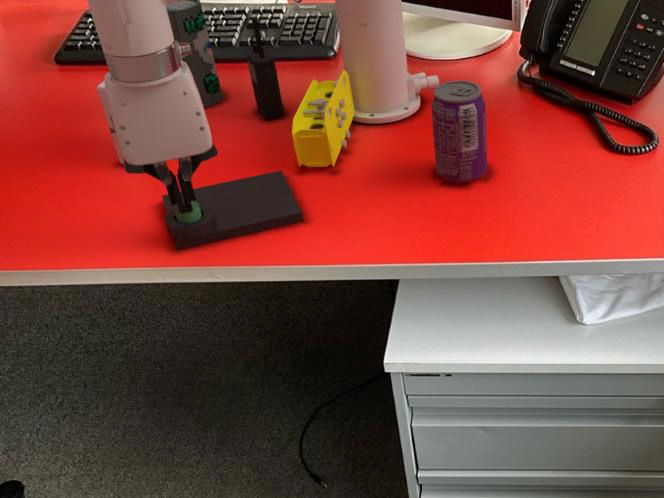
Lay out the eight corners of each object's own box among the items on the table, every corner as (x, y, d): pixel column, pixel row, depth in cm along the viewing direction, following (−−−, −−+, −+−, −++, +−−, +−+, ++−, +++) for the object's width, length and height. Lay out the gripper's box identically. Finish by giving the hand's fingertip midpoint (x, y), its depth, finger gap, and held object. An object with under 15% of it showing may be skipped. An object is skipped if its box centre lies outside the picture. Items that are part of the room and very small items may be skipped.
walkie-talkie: (256, 110, 140) (236, 12, 130) (277, 105, 141) (258, 8, 131) (267, 122, 136) (246, 23, 126) (288, 116, 138) (269, 18, 128)
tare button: (199, 209, 113) (196, 198, 112) (203, 220, 111) (200, 210, 110) (175, 214, 112) (172, 203, 111) (179, 226, 110) (175, 215, 109)
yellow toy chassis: (337, 171, 124) (327, 116, 119) (298, 172, 125) (285, 116, 119) (358, 117, 136) (350, 64, 130) (322, 118, 137) (312, 65, 131)
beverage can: (494, 164, 125) (492, 82, 117) (477, 189, 120) (473, 105, 112) (447, 157, 127) (442, 76, 119) (428, 181, 122) (421, 98, 114)
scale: (283, 179, 123) (279, 159, 121) (305, 223, 115) (301, 202, 113) (161, 205, 119) (155, 185, 117) (174, 253, 110) (167, 232, 108)
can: (225, 103, 142) (202, 7, 132) (185, 110, 140) (159, 13, 130) (220, 88, 146) (197, -6, 136) (181, 94, 144) (156, -1, 134)
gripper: (206, 38, 103) (240, 180, 115) (69, 60, 98) (119, 205, 110) (218, 61, 97) (251, 208, 109) (73, 85, 93) (125, 235, 105)
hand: (185, 206), depth 110 cm, fingers closed
